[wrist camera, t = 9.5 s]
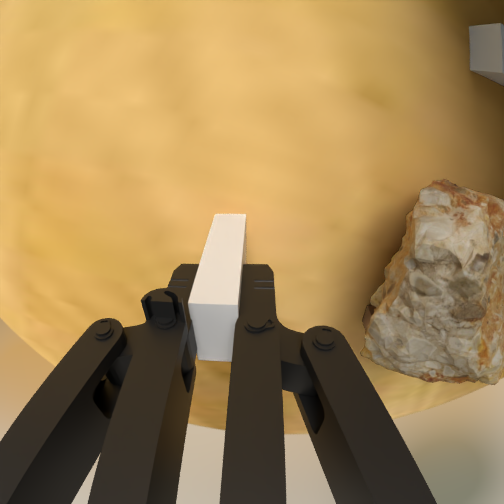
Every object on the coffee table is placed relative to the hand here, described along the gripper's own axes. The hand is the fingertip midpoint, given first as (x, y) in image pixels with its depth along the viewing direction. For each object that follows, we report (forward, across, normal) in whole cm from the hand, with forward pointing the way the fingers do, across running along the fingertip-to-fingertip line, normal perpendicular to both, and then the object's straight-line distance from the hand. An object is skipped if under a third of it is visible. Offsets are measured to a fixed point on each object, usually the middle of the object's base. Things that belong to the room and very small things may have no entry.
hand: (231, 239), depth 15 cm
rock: (+2, +12, -1) cm, 13 cm away
